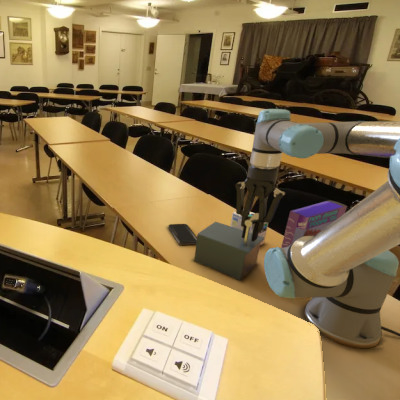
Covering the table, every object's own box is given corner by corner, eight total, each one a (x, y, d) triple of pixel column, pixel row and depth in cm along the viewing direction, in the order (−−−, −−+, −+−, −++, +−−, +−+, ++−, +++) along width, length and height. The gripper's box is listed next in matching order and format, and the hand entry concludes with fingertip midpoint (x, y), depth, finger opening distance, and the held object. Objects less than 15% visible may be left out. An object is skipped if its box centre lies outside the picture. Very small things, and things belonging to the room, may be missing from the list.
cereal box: (287, 289, 95) (307, 217, 86) (272, 280, 99) (290, 210, 90) (325, 274, 101) (347, 205, 92) (309, 266, 105) (329, 199, 96)
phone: (186, 223, 133) (200, 241, 120) (186, 226, 134) (199, 244, 120) (167, 224, 133) (179, 242, 119) (167, 226, 134) (179, 245, 120)
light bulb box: (264, 243, 119) (270, 217, 115) (254, 249, 116) (259, 222, 112) (238, 232, 128) (242, 208, 124) (227, 237, 124) (232, 212, 120)
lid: (264, 239, 103) (270, 212, 99) (248, 254, 95) (254, 226, 92) (215, 223, 114) (218, 198, 111) (197, 235, 106) (200, 209, 103)
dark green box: (256, 264, 107) (261, 238, 104) (240, 280, 100) (245, 253, 96) (211, 247, 118) (215, 223, 114) (194, 260, 110) (197, 235, 106)
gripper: (298, 167, 88) (280, 242, 97) (242, 158, 99) (230, 226, 108) (290, 174, 83) (271, 251, 92) (231, 163, 94) (220, 233, 103)
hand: (249, 237), depth 100 cm, fingers closed on lid, 2 cm apart
